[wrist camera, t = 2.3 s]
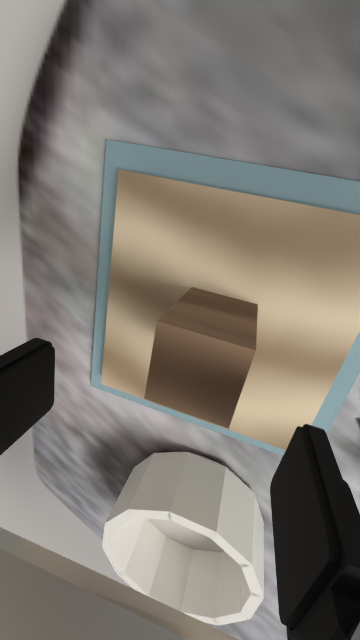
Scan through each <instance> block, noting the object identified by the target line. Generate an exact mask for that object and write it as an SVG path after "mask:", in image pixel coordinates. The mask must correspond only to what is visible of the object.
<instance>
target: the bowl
mask: <svg viewBox="0 0 360 640" xmlns="http://www.w3.org/2000/svg"><path fill="white" fill-rule="evenodd" d="M102 548H103V549H104V551H105V553H106V555H107V557H108V559H109V560H110V562H111V564H112V566H113V568H114V569H115V571H116V573H117V574H118V575H119V576H120V577H121V578H122V579H123V580H124V581H125V582H127V583H128V584H129V585H130V586H131V587H132V588H133V589H134V590H136V591H138V592H140V593H142V594H145V595H147V596H149V597H151V598H153V599H155V600H157V601H159V602H162V603H164V604H166V605H168V606H170V607H172V608H174V609H176V610H178V611H181V612H183V613H185V614H187V615H189V616H191V617H193V618H195V619H198V620H200V621H202V622H205V623H210V624H215V625H224V624H229V623H234V622H239V621H244V620H249V619H251V617H252V615H253V614H254V612H255V611H256V609H257V608H258V606H259V605H260V603H261V601H262V600H263V598H264V542H263V519H262V516H261V513H260V509H259V506H258V503H257V500H256V497H255V494H254V492H253V491H252V490H251V489H249V488H248V487H247V486H246V485H245V484H244V483H243V482H242V481H241V480H240V479H239V478H238V477H237V476H236V475H235V474H234V473H232V472H231V471H230V470H229V469H228V468H227V467H226V466H223V465H221V464H219V463H217V462H216V461H213V460H211V459H209V458H207V457H204V456H201V455H197V454H193V453H190V452H165V453H153V454H152V455H151V456H149V457H148V458H146V459H145V460H144V461H142V462H141V463H139V464H138V465H137V466H135V467H134V468H133V470H132V472H131V474H130V476H129V478H128V480H127V482H126V484H125V485H124V487H123V489H122V491H121V493H120V495H119V497H118V499H117V501H116V503H115V505H114V507H113V509H112V511H111V513H110V515H109V517H108V518H107V520H106V522H105V528H104V536H103V544H102Z"/></svg>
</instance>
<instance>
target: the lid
mask: <svg viewBox="0 0 360 640" xmlns="http://www.w3.org/2000/svg"><path fill="white" fill-rule="evenodd" d="M359 331H360V215H357V214H352V213H346V212H341V211H336V210H330V209H325V208H320V207H315V206H309V205H304V204H299V203H293V202H288V201H283V200H277V199H272V198H267V197H261V196H256V195H251V194H246V193H240V192H235V191H230V190H224V189H219V188H214V187H208V186H203V185H198V184H192V183H187V182H182V181H177V180H171V179H166V178H161V177H155V176H150V175H145V174H139V173H134V172H129V171H123V170H119V172H118V185H117V197H116V209H115V221H114V233H113V245H112V258H111V270H110V282H109V294H108V306H107V319H106V331H105V343H104V355H103V367H102V380H101V384H103V385H106V386H108V387H111V388H114V389H117V390H120V391H122V392H125V393H128V394H131V395H133V396H136V397H139V398H142V399H145V400H147V401H150V402H153V403H156V404H158V405H161V406H164V407H167V408H170V409H172V410H175V411H178V412H181V413H183V414H186V415H189V416H192V417H195V418H197V419H200V420H203V421H206V422H208V423H211V424H214V425H217V426H220V427H222V428H225V429H228V430H231V431H233V432H236V433H239V434H242V435H245V436H247V437H250V438H253V439H256V440H258V441H261V442H264V443H267V444H270V445H272V446H275V447H278V448H281V449H283V450H286V449H287V447H288V445H289V443H290V440H291V438H292V436H293V434H294V432H295V430H296V428H297V427H298V426H300V427H303V425H304V424H309V425H312V423H313V421H314V419H315V417H316V415H317V413H318V411H319V409H320V407H321V405H322V403H323V401H324V399H325V398H326V396H327V394H328V392H329V390H330V388H331V386H332V384H333V382H334V380H335V378H336V376H337V374H338V372H339V370H340V368H341V366H342V364H343V362H344V361H345V359H346V357H347V355H348V353H349V351H350V349H351V347H352V345H353V343H354V341H355V339H356V337H357V335H358V333H359Z"/></svg>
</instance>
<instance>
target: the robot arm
mask: <svg viewBox="0 0 360 640" xmlns="http://www.w3.org/2000/svg"><path fill="white" fill-rule="evenodd" d="M54 373H55V349H54V347H52V344H51V342H49V341H46V340H43V339H39V338H34V339H32V340H30V341H28V342H26V343H24V344H22V345H20V346H18V347H16V348H14V349H12V350H11V351H8V352H6V353H5V354H3V355H1V356H0V455H1V454H2V453H3V452H4V451H5V450H7V449H8V448H9V447H10V446H11V445H12V444H13V443H14V442H15V441H17V440H18V439H19V438H20V437H21V436H22V435H23V434H24V433H25V432H26V431H27V430H28V429H30V428H31V427H32V426H33V425H34V424H35V423H36V422H37V421H38V420H39V419H41V418H42V417H43V416H44V415H45V414H46V413H47V412H48V411H49V410H50V409H51V408H52V406H53V403H54ZM270 494H271V508H272V522H273V535H274V549H275V563H276V576H277V590H278V604H279V615H280V620H281V623H282V624H284V625H286V627H287V638H288V640H360V514H359V511H358V509H357V506H356V503H355V501H354V498H353V495H352V493H351V490H350V488H349V486H348V484H347V483H346V482H345V481H344V480H343V479H342V476H341V473H340V471H339V468H338V465H337V462H336V459H335V457H334V454H333V451H332V448H331V446H330V443H329V440H328V437H327V435H326V432H325V430H323V429H321V428H318V427H315V426H312V425H309V424H304V425H303V427H300V426H298V427H297V428H296V430H295V432H294V434H293V436H292V438H291V440H290V443H289V445H288V447H287V449H286V451H285V453H284V455H283V457H282V460H281V462H280V464H279V466H278V468H277V470H276V472H275V474H274V477H273V479H272V482H271V487H270ZM0 640H238V639H236V638H234V637H232V636H230V635H228V634H226V633H224V632H222V631H220V630H218V629H216V628H214V627H212V626H210V625H208V624H206V623H204V622H202V621H200V620H198V619H195V618H193V617H191V616H189V615H187V614H185V613H183V612H181V611H178V610H176V609H174V608H172V607H170V606H168V605H166V604H164V603H162V602H159V601H157V600H155V599H153V598H151V597H149V596H147V595H145V594H142V593H140V592H138V591H136V590H134V589H132V588H130V587H128V586H125V585H123V584H121V583H119V582H117V581H115V580H113V579H110V578H108V577H106V576H104V575H102V574H100V573H98V572H95V571H93V570H91V569H89V568H87V567H85V566H83V565H80V564H78V563H76V562H74V561H72V560H70V559H67V558H65V557H63V556H61V555H59V554H57V553H55V552H52V551H50V550H48V549H46V548H44V547H42V546H40V545H37V544H35V543H33V542H31V541H29V540H27V539H24V538H22V537H20V536H18V535H16V534H13V533H11V532H9V531H7V530H5V529H3V528H1V527H0Z"/></svg>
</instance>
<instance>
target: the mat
mask: <svg viewBox="0 0 360 640" xmlns="http://www.w3.org/2000/svg"><path fill="white" fill-rule="evenodd" d="M119 170H123V171H129V172H134V173H139V174H145V175H150V176H155V177H161V178H166V179H171V180H177V181H182V182H187V183H192V184H198V185H203V186H208V187H214V188H219V189H224V190H230V191H235V192H240V193H246V194H251V195H256V196H261V197H267V198H272V199H277V200H283V201H288V202H293V203H299V204H304V205H309V206H315V207H320V208H325V209H330V210H336V211H341V212H346V213H352V214H357V215H360V181H354V180H348V179H342V178H336V177H330V176H324V175H318V174H312V173H306V172H300V171H294V170H288V169H282V168H276V167H270V166H264V165H258V164H252V163H246V162H240V161H234V160H228V159H222V158H216V157H210V156H204V155H198V154H192V153H186V152H180V151H173V150H167V149H161V148H155V147H149V146H143V145H137V144H131V143H125V142H119V141H113V140H107V139H106V151H105V167H104V183H103V199H102V215H101V231H100V247H99V263H98V279H97V294H96V310H95V326H94V342H93V358H92V374H91V386H93V387H95V388H98V389H101V390H103V391H106V392H109V393H112V394H114V395H117V396H120V397H123V398H125V399H128V400H131V401H134V402H136V403H139V404H142V405H145V406H147V407H150V408H153V409H156V410H158V411H161V412H164V413H167V414H169V415H172V416H175V417H178V418H180V419H183V420H186V421H189V422H191V423H194V424H197V425H200V426H202V427H205V428H208V429H210V430H213V431H216V432H219V433H221V434H224V435H227V436H230V437H232V438H235V439H238V440H241V441H243V442H246V443H249V444H252V445H254V446H257V447H260V448H263V449H265V450H268V451H271V452H274V453H276V454H279V455H282V456H283V455H284V453H285V451H286V450H283V449H281V448H278V447H275V446H272V445H270V444H267V443H264V442H261V441H258V440H256V439H253V438H250V437H247V436H245V435H242V434H239V433H236V432H233V431H231V430H228V429H225V428H222V427H220V426H217V425H214V424H211V423H208V422H206V421H203V420H200V419H197V418H195V417H192V416H189V415H186V414H183V413H181V412H178V411H175V410H172V409H170V408H167V407H164V406H161V405H158V404H156V403H153V402H150V401H147V400H145V399H142V398H139V397H136V396H133V395H131V394H128V393H125V392H122V391H120V390H117V389H114V388H111V387H108V386H106V385H103V384H101V380H102V367H103V355H104V343H105V331H106V319H107V306H108V294H109V282H110V270H111V258H112V245H113V233H114V221H115V209H116V197H117V185H118V172H119ZM359 373H360V331H359V333H358V335H357V337H356V339H355V341H354V343H353V345H352V347H351V349H350V351H349V353H348V355H347V357H346V359H345V361H344V362H343V364H342V366H341V368H340V370H339V372H338V374H337V376H336V378H335V380H334V382H333V384H332V386H331V388H330V390H329V392H328V394H327V396H326V398H325V399H324V401H323V403H322V405H321V407H320V409H319V411H318V413H317V415H316V417H315V419H314V421H313V423H312V426H315V427H318V428H321V429H323V430H325V432H326V433H327V431H328V429H329V427H330V425H331V424H332V422H333V420H334V418H335V416H336V415H337V413H338V411H339V409H340V407H341V406H342V404H343V402H344V400H345V398H346V396H347V395H348V393H349V391H350V389H351V387H352V386H353V384H354V382H355V380H356V378H357V377H358V375H359Z"/></svg>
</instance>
